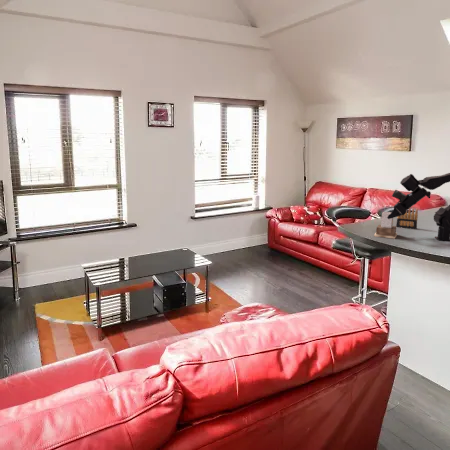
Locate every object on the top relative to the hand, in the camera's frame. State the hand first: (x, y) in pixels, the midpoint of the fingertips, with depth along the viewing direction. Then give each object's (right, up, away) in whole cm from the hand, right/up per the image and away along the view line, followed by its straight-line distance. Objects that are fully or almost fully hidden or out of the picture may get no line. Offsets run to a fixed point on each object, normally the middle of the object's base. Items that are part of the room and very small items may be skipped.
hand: (389, 216), depth 221 cm
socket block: (-1, -10, +2) cm, 10 cm away
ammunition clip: (+18, -6, +21) cm, 29 cm away
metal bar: (-1, -9, +2) cm, 9 cm away
